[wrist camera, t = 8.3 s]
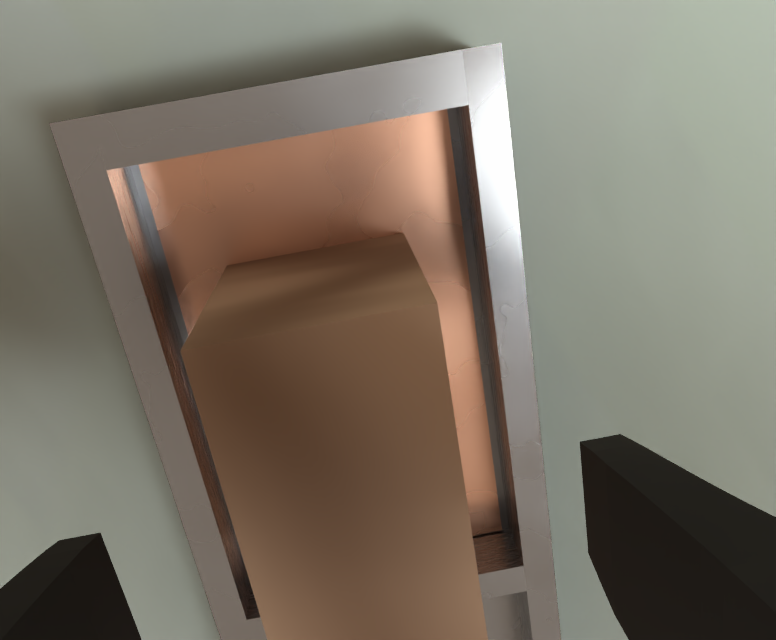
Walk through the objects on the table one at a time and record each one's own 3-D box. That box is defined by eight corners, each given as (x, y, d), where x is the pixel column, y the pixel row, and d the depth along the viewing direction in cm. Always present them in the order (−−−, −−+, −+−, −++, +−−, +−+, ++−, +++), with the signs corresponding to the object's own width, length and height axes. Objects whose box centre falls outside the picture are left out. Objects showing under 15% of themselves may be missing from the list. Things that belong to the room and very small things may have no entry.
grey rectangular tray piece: (474, 48, 15) (563, 29, 9) (553, 744, 22) (628, 967, 17) (94, 116, 15) (-53, 138, 9) (304, 794, 22) (295, 1037, 17)
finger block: (403, 232, 15) (437, 303, 10) (451, 527, 18) (495, 688, 13) (227, 265, 15) (180, 350, 10) (303, 555, 18) (294, 728, 13)
